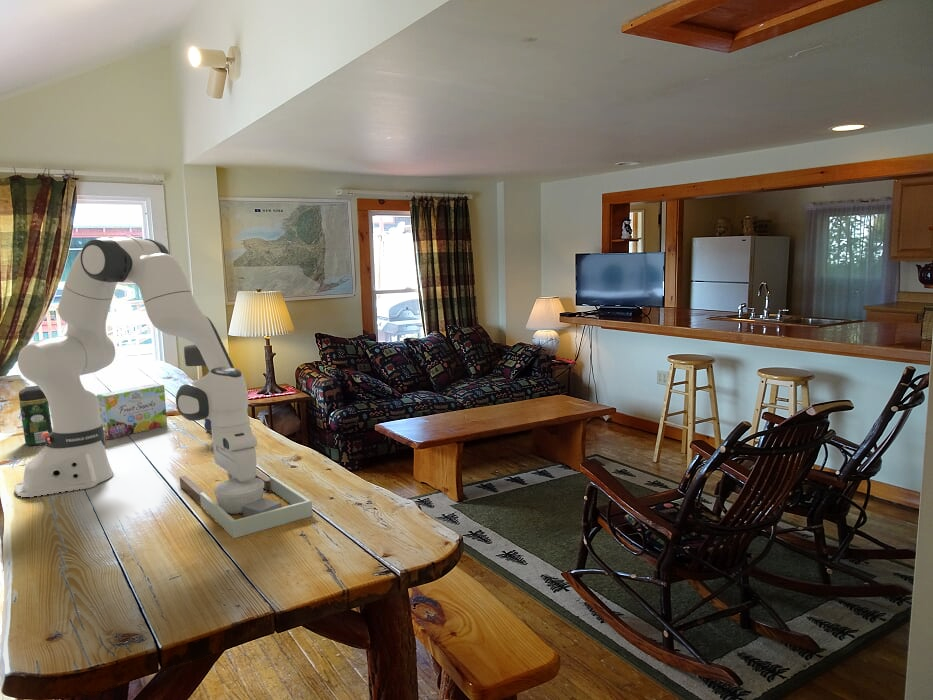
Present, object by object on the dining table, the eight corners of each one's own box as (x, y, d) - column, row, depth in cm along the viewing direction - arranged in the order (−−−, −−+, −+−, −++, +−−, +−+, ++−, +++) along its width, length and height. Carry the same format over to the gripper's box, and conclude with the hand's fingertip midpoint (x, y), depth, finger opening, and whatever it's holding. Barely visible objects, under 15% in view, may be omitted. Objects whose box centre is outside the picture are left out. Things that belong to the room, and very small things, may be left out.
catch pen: (233, 538, 137) (232, 522, 137) (201, 507, 155) (199, 492, 154) (312, 515, 148) (311, 500, 147) (273, 489, 166) (272, 475, 165)
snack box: (109, 440, 217) (104, 395, 215) (100, 438, 220) (95, 394, 218) (168, 425, 235) (164, 383, 232) (159, 423, 237) (154, 382, 235)
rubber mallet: (192, 436, 219) (184, 346, 215) (190, 430, 226) (182, 344, 221) (231, 430, 224) (224, 343, 220) (229, 425, 231) (221, 340, 227)
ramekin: (246, 518, 147) (245, 495, 147) (205, 513, 151) (203, 491, 150) (275, 500, 158) (273, 479, 157) (235, 496, 161) (234, 475, 161)
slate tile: (260, 522, 146) (259, 511, 145) (243, 516, 149) (242, 506, 149) (282, 513, 151) (281, 502, 150) (264, 508, 154) (263, 497, 154)
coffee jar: (24, 441, 219) (17, 386, 216) (53, 437, 223) (46, 383, 221) (24, 447, 211) (17, 390, 208) (54, 443, 215) (47, 387, 213)
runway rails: (202, 506, 155) (201, 496, 155) (180, 486, 170) (179, 476, 170) (272, 489, 165) (271, 480, 165) (245, 471, 180) (245, 462, 180)
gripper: (204, 428, 166) (209, 481, 168) (232, 445, 150) (237, 504, 152) (230, 424, 170) (234, 476, 172) (259, 440, 154) (264, 497, 156)
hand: (236, 489), depth 162 cm, fingers closed
